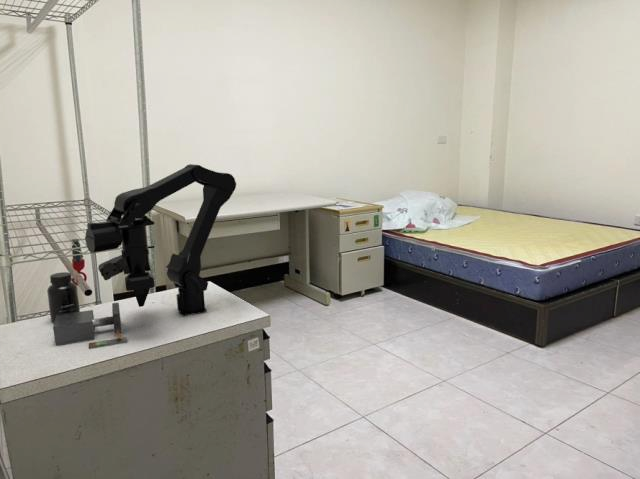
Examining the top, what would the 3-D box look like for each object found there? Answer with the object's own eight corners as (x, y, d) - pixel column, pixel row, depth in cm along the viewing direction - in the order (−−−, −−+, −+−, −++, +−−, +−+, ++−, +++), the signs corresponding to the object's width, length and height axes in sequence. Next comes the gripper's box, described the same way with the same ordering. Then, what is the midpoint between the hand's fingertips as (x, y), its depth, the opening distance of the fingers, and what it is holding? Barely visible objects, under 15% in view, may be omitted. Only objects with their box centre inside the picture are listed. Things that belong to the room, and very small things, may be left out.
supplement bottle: (68, 324, 121) (62, 279, 118) (45, 323, 122) (38, 278, 119) (86, 314, 127) (81, 271, 125) (64, 313, 129) (58, 270, 126)
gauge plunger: (120, 320, 122) (118, 302, 121) (122, 340, 110) (119, 320, 109) (67, 329, 117) (65, 309, 116) (63, 350, 106) (60, 329, 105)
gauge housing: (125, 322, 122) (123, 305, 121) (127, 342, 111) (125, 324, 110) (58, 332, 116) (56, 315, 115) (53, 354, 105) (50, 335, 104)
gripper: (98, 240, 121) (106, 299, 124) (97, 258, 104) (106, 325, 108) (145, 236, 125) (151, 292, 129) (151, 252, 108) (157, 317, 112)
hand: (141, 306), depth 119 cm, fingers closed
